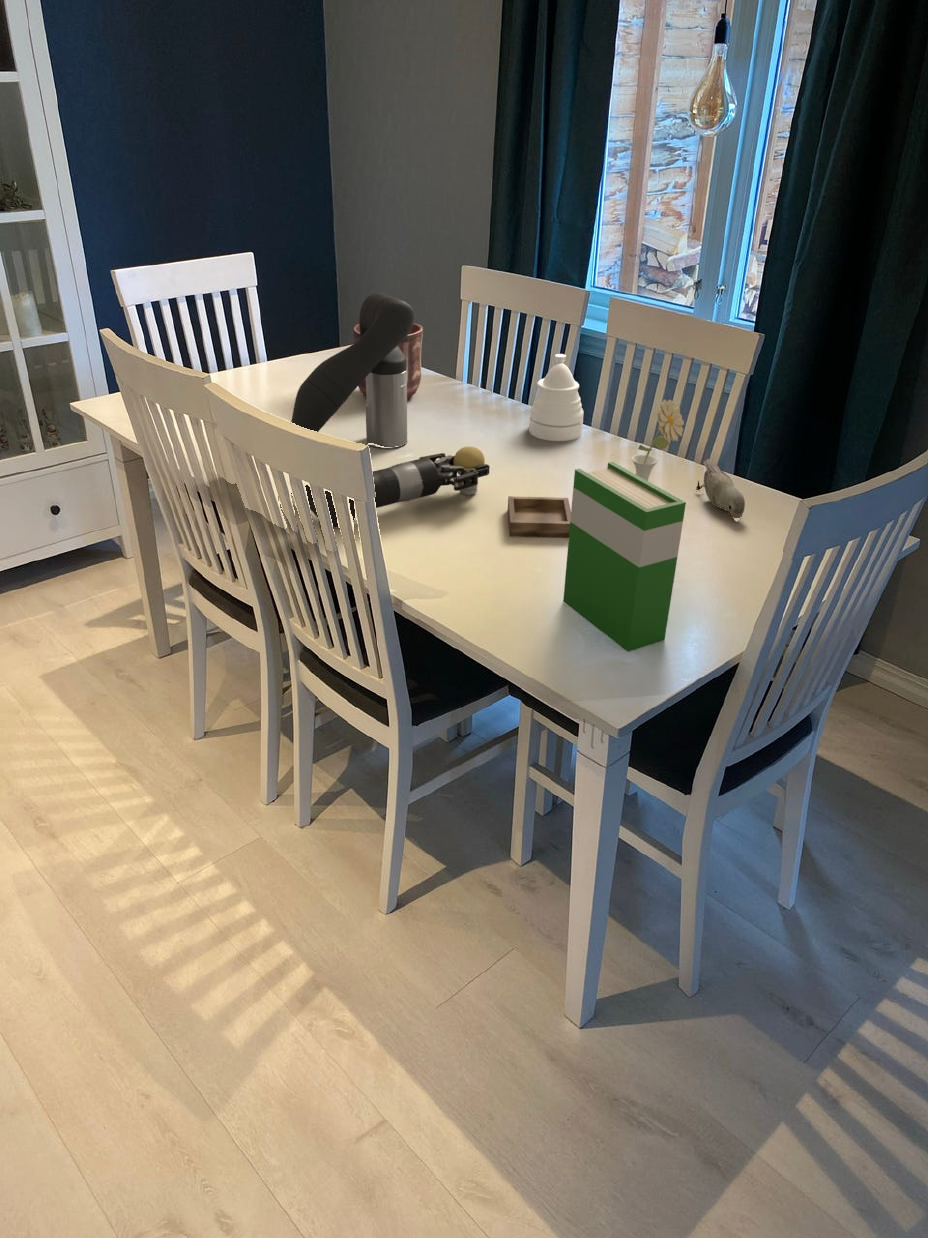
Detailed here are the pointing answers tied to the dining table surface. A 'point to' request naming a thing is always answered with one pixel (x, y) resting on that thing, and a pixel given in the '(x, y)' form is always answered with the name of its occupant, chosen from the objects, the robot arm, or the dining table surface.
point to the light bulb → (469, 463)
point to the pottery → (413, 357)
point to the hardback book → (622, 554)
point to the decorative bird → (722, 490)
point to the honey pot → (557, 405)
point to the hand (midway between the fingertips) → (478, 463)
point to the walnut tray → (539, 517)
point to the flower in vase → (660, 437)
